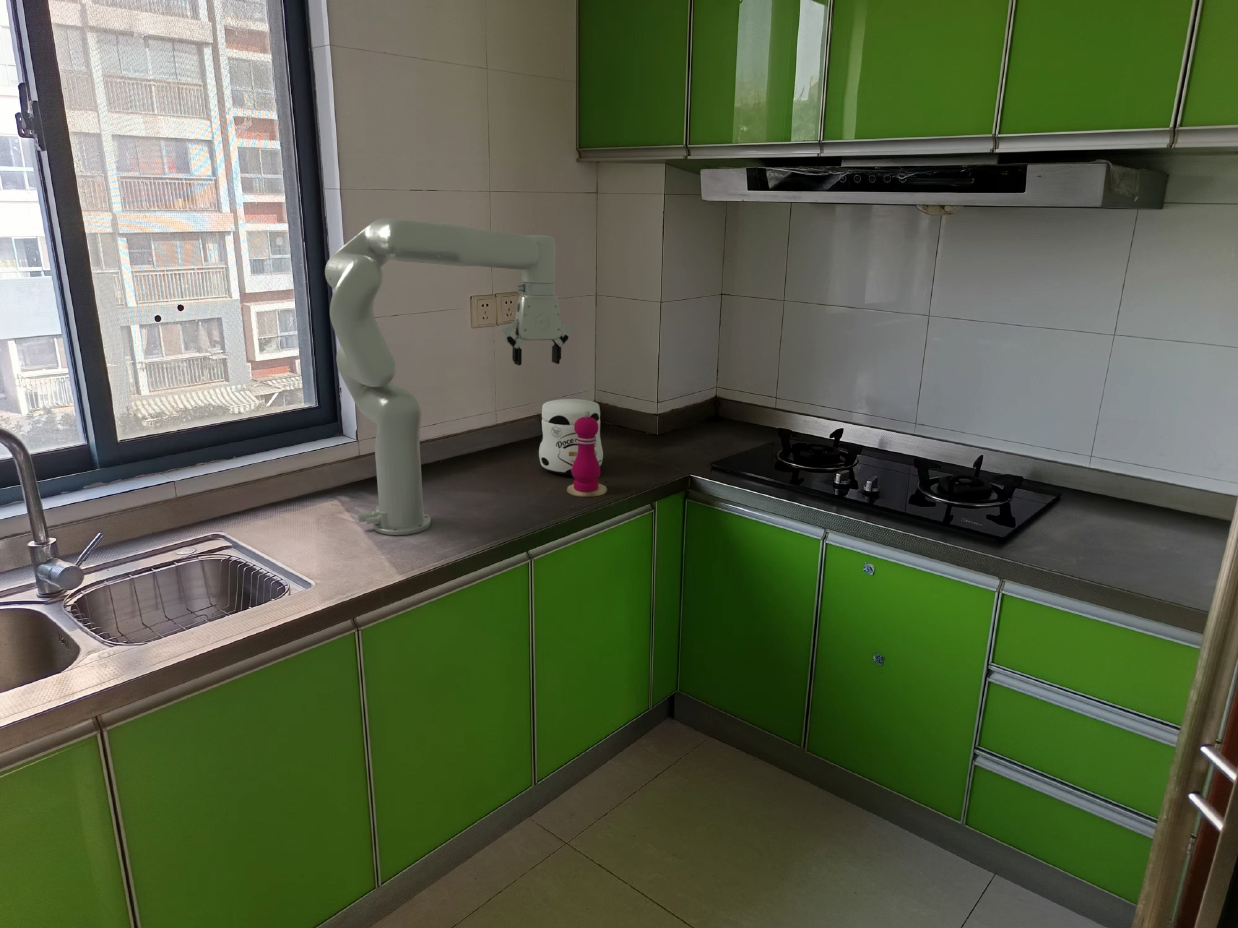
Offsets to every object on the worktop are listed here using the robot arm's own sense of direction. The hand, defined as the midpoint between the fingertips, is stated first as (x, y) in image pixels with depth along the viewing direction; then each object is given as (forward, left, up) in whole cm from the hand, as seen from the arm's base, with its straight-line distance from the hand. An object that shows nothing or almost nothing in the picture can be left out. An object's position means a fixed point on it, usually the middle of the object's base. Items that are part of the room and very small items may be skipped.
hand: (536, 363), depth 210 cm
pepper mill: (+12, -1, -33) cm, 35 cm away
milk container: (+17, +17, -33) cm, 41 cm away
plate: (+13, -1, -33) cm, 36 cm away
